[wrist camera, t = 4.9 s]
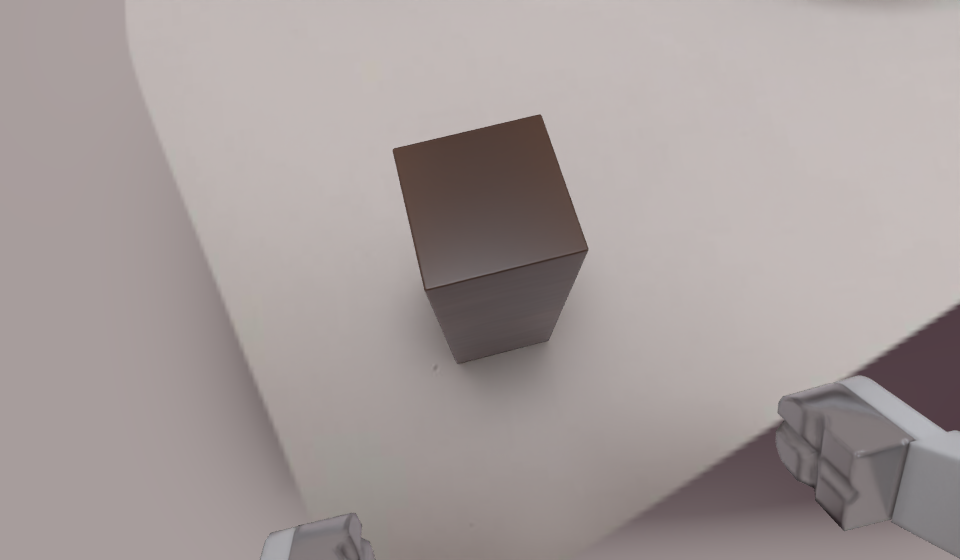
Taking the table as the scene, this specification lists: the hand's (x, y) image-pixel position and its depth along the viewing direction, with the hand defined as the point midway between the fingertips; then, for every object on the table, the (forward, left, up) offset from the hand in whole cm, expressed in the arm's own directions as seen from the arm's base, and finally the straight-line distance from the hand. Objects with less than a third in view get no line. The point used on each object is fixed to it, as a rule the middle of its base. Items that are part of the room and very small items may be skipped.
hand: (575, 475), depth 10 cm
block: (0, +7, -11) cm, 13 cm away
